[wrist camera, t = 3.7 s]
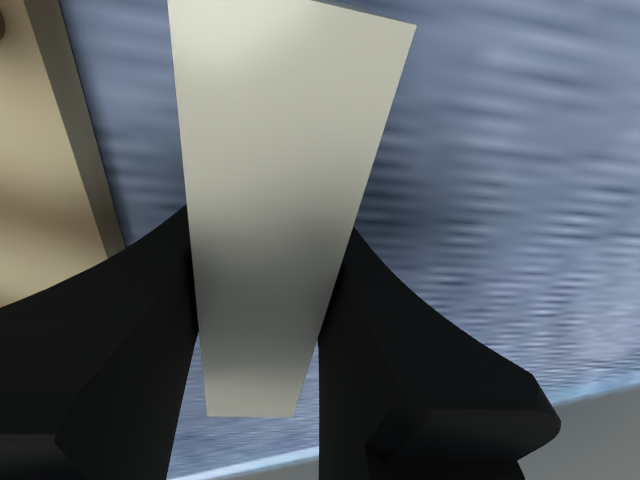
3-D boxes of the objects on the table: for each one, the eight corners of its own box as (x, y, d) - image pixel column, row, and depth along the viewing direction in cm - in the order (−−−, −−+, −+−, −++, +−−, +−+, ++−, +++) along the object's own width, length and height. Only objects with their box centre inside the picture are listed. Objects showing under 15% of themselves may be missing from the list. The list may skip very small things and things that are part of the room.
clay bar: (293, 307, 15) (292, 417, 11) (230, 303, 15) (207, 416, 11) (356, 6, 8) (416, 25, 4) (233, -24, 7) (163, -35, 3)
